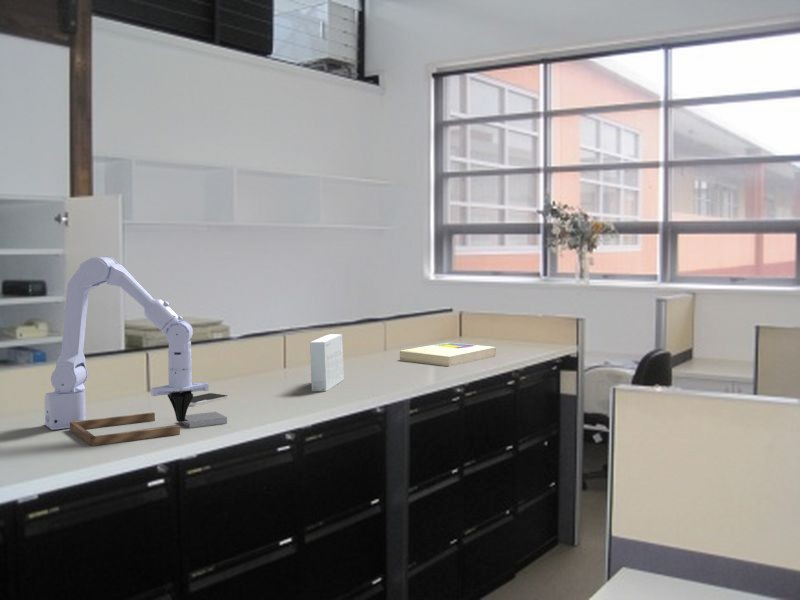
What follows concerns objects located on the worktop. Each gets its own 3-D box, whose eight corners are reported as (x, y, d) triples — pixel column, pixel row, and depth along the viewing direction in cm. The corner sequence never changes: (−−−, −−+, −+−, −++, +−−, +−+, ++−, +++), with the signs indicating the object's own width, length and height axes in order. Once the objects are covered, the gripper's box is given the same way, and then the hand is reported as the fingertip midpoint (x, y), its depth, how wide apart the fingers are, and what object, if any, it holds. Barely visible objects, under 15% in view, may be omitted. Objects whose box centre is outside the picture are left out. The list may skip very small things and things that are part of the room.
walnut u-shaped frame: (91, 446, 189) (91, 437, 189) (70, 429, 205) (70, 422, 205) (179, 434, 202) (179, 426, 202) (153, 419, 217) (153, 412, 217)
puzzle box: (398, 361, 328) (448, 367, 313) (398, 350, 327) (449, 355, 313) (449, 352, 356) (497, 357, 342) (449, 342, 356) (497, 346, 342)
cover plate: (189, 429, 208) (189, 421, 208) (179, 423, 215) (179, 415, 215) (227, 424, 214) (227, 417, 214) (215, 419, 221) (215, 411, 221)
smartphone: (229, 395, 248) (193, 403, 235) (229, 399, 248) (193, 408, 235) (210, 393, 251) (173, 400, 239) (210, 397, 252) (173, 405, 239)
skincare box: (328, 379, 281) (328, 333, 280) (344, 380, 280) (344, 334, 279) (309, 391, 261) (309, 341, 259) (326, 391, 260) (326, 341, 258)
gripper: (157, 373, 203) (158, 427, 204) (213, 368, 211) (213, 420, 212) (147, 369, 209) (148, 422, 210) (202, 364, 217) (202, 415, 218)
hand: (180, 421), depth 211 cm, fingers closed
